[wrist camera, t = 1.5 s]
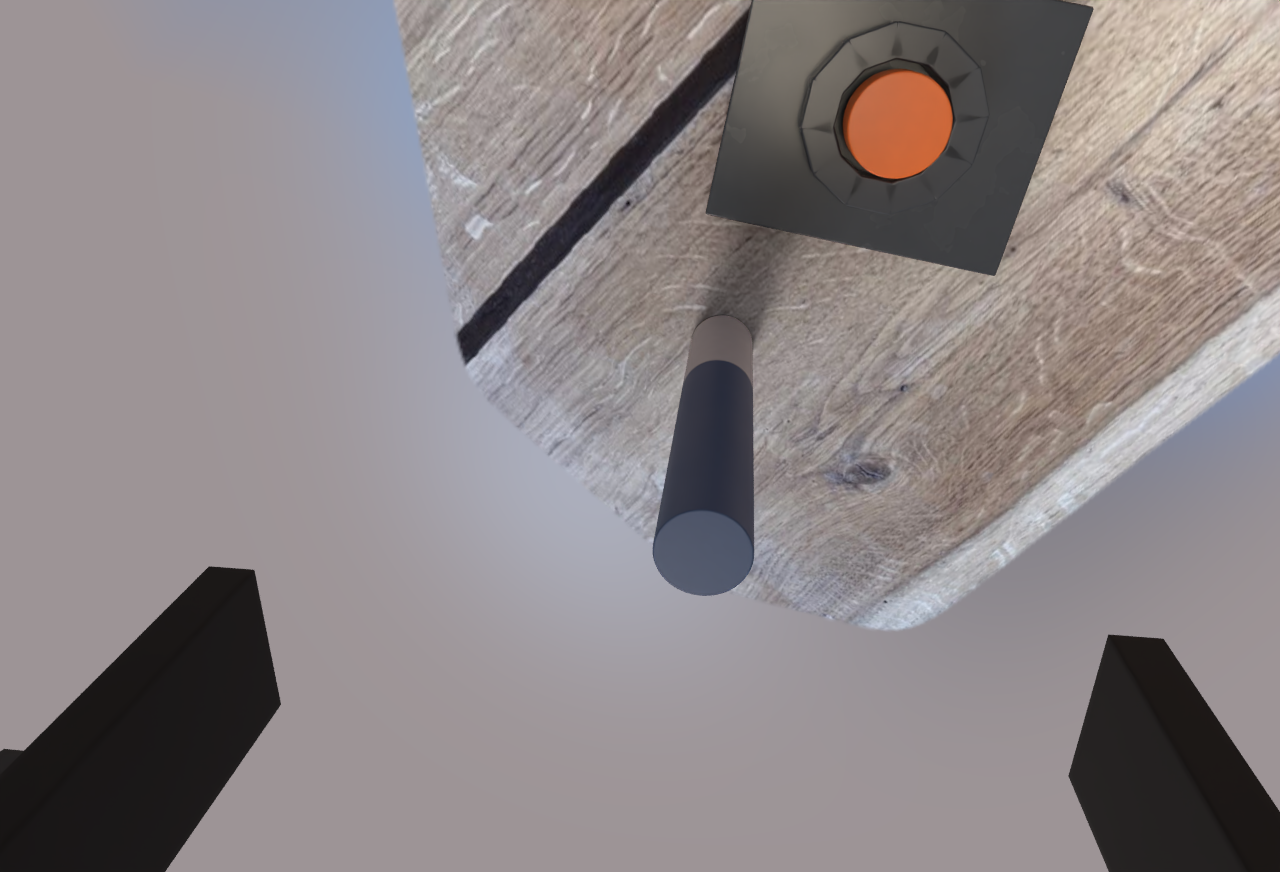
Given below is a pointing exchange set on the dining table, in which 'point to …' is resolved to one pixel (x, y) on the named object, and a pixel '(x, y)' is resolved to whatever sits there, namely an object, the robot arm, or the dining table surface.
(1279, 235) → the dining table surface
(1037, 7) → the station
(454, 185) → the dining table surface
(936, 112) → the button
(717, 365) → the pen
